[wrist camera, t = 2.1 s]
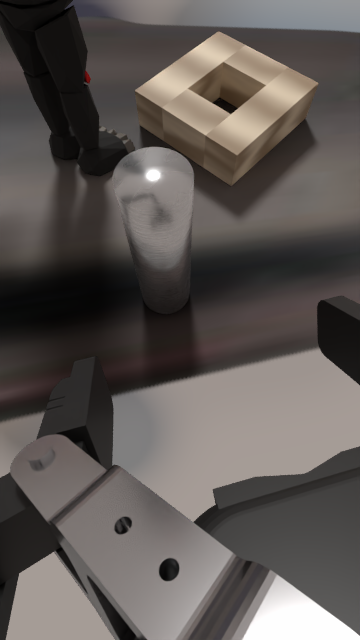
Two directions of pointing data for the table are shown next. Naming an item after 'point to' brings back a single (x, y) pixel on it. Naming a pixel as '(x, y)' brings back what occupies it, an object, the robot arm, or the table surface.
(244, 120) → the socket
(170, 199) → the pin
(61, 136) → the toy
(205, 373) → the table surface
